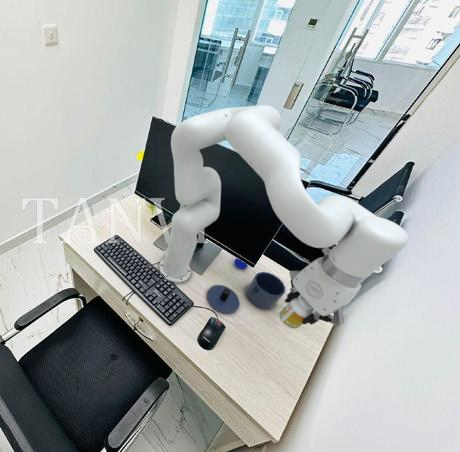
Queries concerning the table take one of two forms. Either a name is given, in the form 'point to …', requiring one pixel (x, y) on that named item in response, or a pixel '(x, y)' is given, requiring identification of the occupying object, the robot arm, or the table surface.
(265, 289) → the pot
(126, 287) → the table surface
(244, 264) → the beverage can
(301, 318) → the supplement bottle
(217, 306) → the lid
